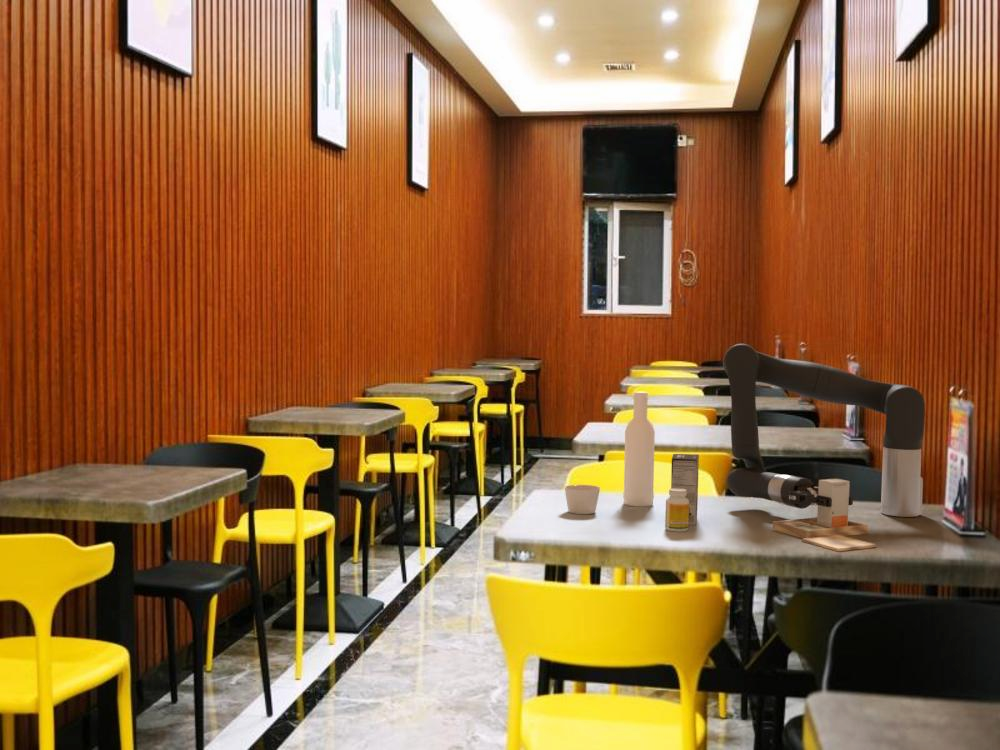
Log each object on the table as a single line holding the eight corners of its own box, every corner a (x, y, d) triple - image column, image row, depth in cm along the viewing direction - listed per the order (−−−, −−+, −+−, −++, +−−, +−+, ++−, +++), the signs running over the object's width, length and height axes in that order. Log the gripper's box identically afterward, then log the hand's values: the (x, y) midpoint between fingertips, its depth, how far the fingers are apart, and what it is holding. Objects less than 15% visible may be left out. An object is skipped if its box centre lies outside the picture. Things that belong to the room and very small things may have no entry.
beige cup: (606, 513, 262) (607, 488, 261) (579, 516, 257) (579, 491, 256) (584, 507, 269) (584, 483, 269) (557, 511, 264) (557, 486, 264)
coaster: (838, 537, 236) (838, 534, 236) (875, 547, 226) (875, 544, 226) (801, 541, 231) (802, 538, 231) (838, 551, 221) (838, 548, 221)
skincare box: (829, 533, 240) (831, 482, 240) (816, 529, 244) (817, 479, 244) (848, 531, 243) (850, 480, 243) (835, 527, 247) (836, 478, 246)
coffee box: (671, 517, 258) (672, 453, 257) (697, 518, 256) (698, 454, 256) (669, 524, 249) (671, 457, 248) (696, 525, 247) (698, 458, 247)
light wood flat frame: (829, 524, 251) (829, 516, 251) (867, 533, 241) (867, 525, 240) (772, 529, 243) (772, 521, 243) (808, 539, 233) (809, 531, 232)
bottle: (657, 503, 277) (659, 391, 276) (648, 507, 270) (650, 393, 268) (628, 500, 281) (631, 390, 279) (619, 505, 273) (621, 392, 272)
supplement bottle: (660, 528, 243) (661, 488, 243) (679, 526, 245) (680, 486, 245) (674, 532, 238) (675, 491, 238) (693, 531, 241) (694, 490, 240)
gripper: (768, 477, 253) (818, 487, 238) (813, 474, 259) (864, 484, 244) (768, 507, 253) (817, 519, 238) (812, 503, 259) (863, 515, 245)
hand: (841, 501), depth 241 cm, fingers closed on skincare box, 6 cm apart
